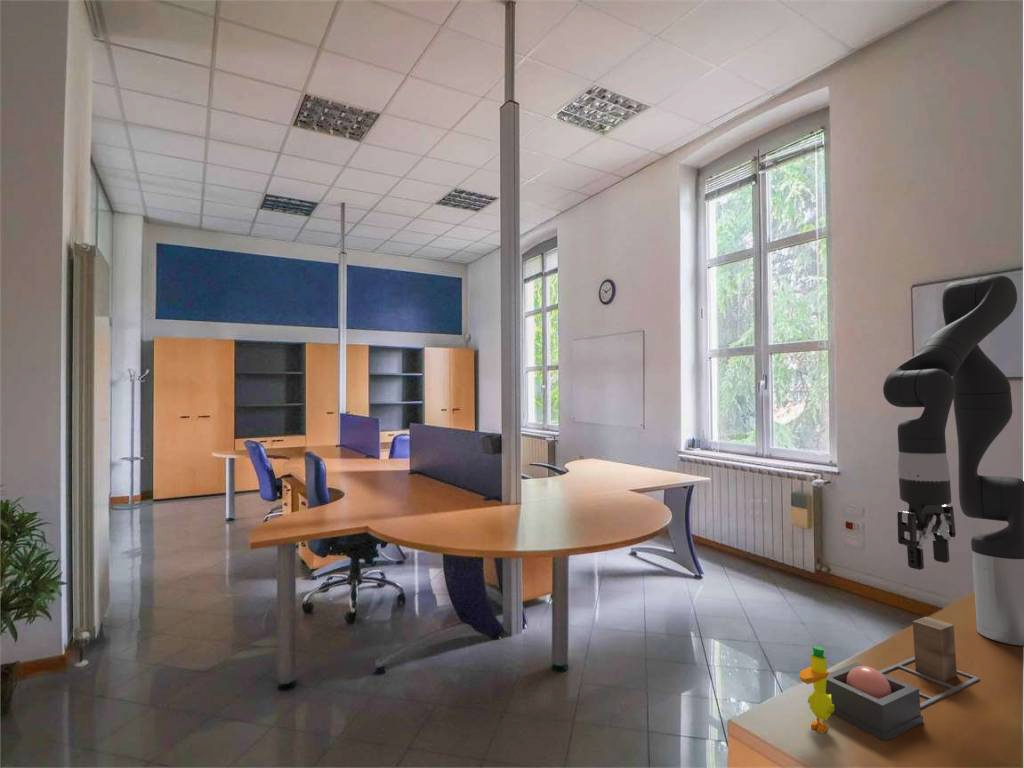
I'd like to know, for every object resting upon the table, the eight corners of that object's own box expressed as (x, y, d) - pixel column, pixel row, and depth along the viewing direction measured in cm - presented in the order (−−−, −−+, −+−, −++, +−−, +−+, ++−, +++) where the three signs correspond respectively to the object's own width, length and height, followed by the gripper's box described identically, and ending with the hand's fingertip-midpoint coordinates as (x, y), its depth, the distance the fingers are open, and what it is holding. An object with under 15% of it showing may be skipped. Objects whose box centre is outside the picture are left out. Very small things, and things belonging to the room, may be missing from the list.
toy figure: (815, 741, 77) (811, 658, 78) (793, 728, 80) (789, 649, 81) (844, 728, 80) (839, 648, 81) (821, 716, 83) (817, 639, 84)
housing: (857, 691, 90) (855, 661, 90) (923, 722, 81) (921, 689, 81) (819, 707, 86) (818, 676, 86) (885, 741, 77) (883, 706, 77)
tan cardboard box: (928, 665, 98) (925, 616, 99) (956, 675, 94) (953, 624, 95) (915, 670, 96) (912, 621, 97) (943, 681, 92) (940, 629, 93)
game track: (917, 656, 101) (917, 655, 101) (979, 679, 93) (979, 678, 93) (848, 685, 92) (848, 683, 92) (910, 713, 83) (910, 711, 83)
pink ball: (861, 692, 87) (859, 655, 88) (901, 710, 82) (898, 671, 82) (839, 702, 85) (837, 664, 85) (878, 721, 79) (876, 681, 80)
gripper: (925, 482, 91) (931, 577, 90) (968, 475, 97) (974, 564, 96) (879, 477, 97) (884, 565, 97) (922, 471, 104) (927, 554, 103)
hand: (929, 565), depth 96 cm, fingers open, 8 cm apart
